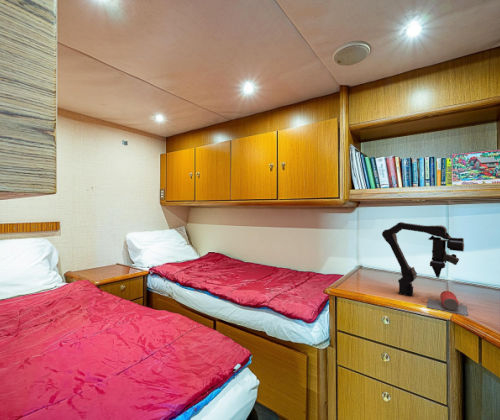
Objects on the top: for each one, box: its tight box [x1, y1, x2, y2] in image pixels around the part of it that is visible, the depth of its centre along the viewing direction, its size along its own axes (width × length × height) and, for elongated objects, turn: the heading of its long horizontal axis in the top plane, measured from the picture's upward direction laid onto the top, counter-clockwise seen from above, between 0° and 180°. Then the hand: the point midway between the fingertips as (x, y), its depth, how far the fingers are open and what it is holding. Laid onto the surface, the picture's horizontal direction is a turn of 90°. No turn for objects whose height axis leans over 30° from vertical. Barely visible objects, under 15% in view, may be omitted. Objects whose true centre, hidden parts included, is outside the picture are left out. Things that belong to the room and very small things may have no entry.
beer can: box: [439, 290, 459, 310], centre depth 128 cm, size 7×7×12 cm
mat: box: [426, 298, 469, 317], centre depth 129 cm, size 16×14×1 cm
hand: (437, 277), depth 137 cm, fingers closed
